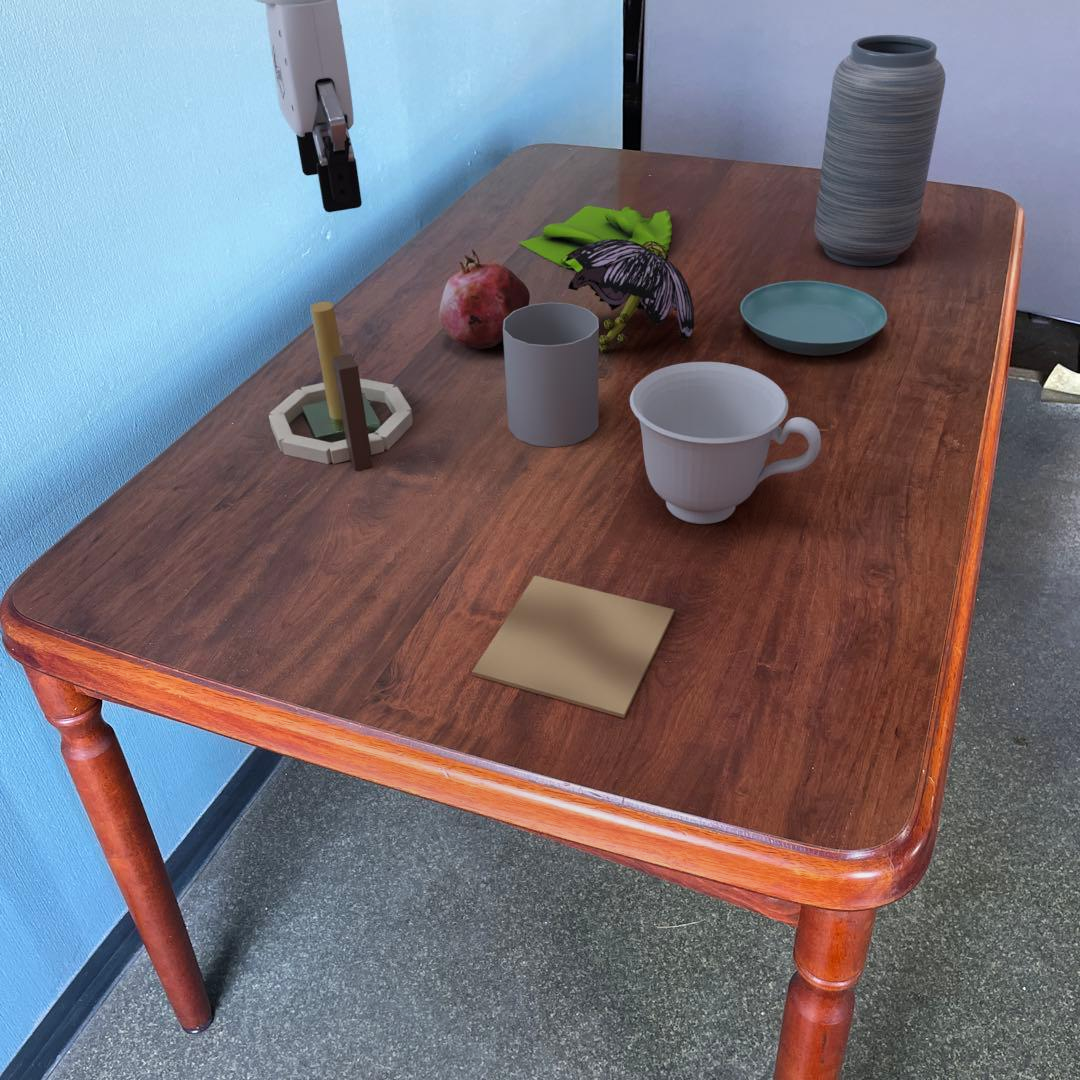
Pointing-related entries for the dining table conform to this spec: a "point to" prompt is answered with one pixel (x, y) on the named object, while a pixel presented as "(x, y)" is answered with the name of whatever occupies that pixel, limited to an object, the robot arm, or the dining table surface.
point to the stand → (330, 381)
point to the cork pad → (576, 645)
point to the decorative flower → (633, 284)
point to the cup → (552, 373)
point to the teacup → (713, 436)
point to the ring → (353, 415)
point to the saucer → (812, 316)
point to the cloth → (598, 232)
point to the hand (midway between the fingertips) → (331, 190)
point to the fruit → (480, 302)
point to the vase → (878, 148)
